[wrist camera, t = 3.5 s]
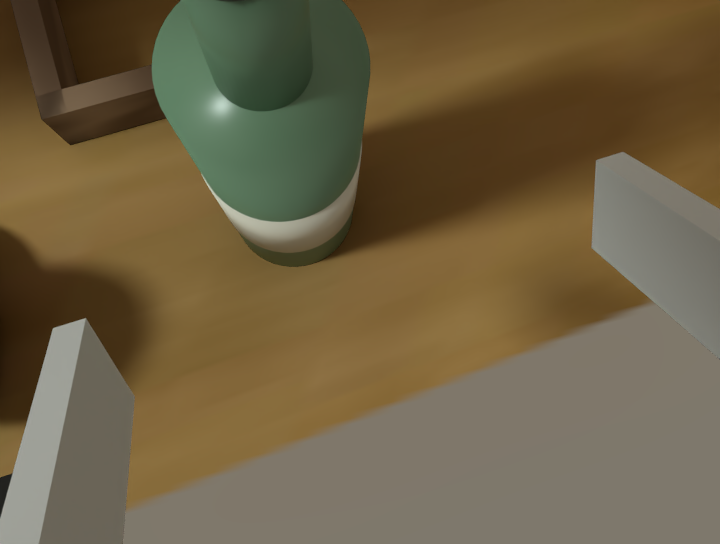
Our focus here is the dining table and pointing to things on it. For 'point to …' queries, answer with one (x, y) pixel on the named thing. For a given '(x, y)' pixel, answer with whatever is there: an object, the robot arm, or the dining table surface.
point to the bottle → (270, 115)
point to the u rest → (60, 85)
